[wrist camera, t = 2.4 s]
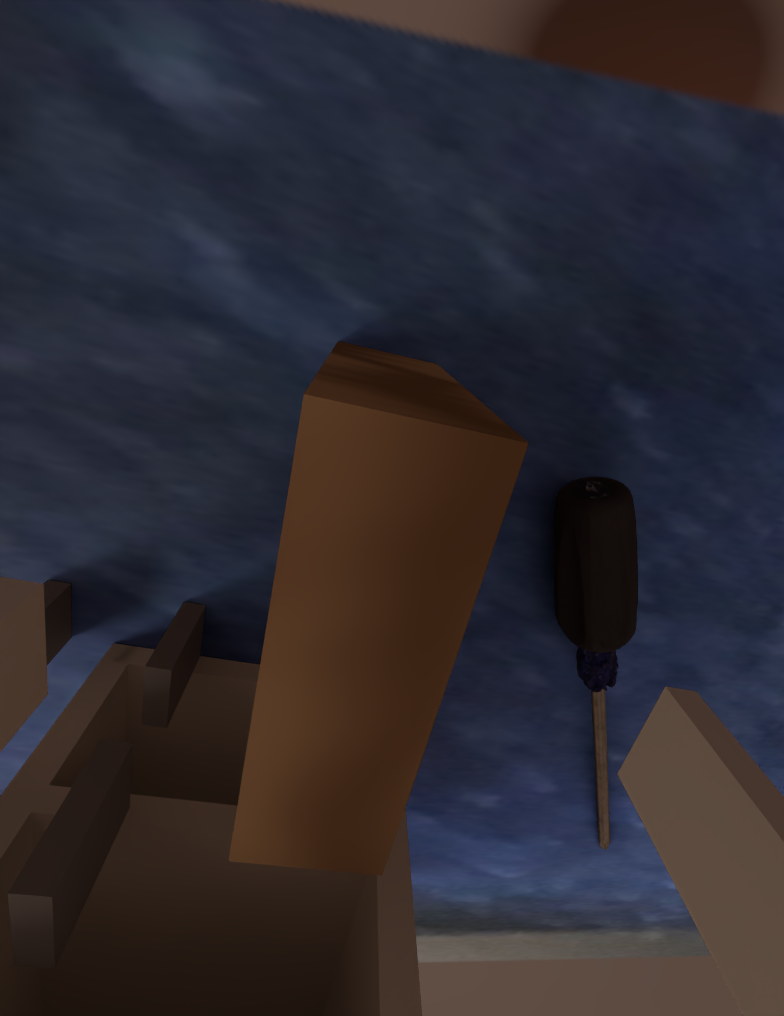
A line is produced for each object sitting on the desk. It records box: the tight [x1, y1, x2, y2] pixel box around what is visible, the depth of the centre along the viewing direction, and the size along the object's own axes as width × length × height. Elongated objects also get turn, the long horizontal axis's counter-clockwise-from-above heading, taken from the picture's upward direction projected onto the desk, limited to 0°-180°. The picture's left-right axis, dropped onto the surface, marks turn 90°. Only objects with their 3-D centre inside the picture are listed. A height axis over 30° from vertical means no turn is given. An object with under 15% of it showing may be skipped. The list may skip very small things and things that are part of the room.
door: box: [229, 341, 529, 875], centre depth 16 cm, size 5×12×12 cm, turn 167°
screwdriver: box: [553, 477, 638, 850], centre depth 25 cm, size 26×4×4 cm, turn 13°
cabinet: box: [0, 580, 422, 1016], centre depth 20 cm, size 17×19×16 cm
